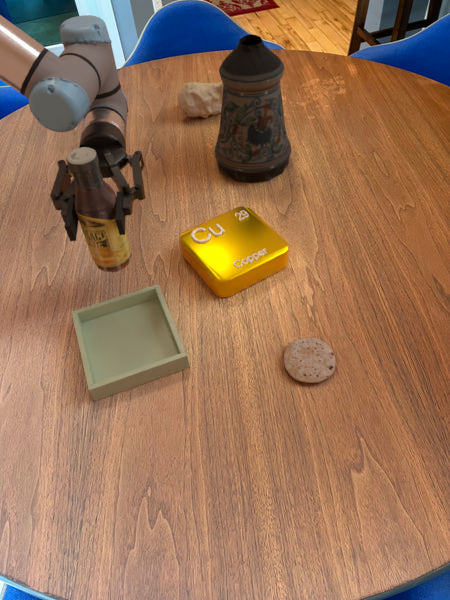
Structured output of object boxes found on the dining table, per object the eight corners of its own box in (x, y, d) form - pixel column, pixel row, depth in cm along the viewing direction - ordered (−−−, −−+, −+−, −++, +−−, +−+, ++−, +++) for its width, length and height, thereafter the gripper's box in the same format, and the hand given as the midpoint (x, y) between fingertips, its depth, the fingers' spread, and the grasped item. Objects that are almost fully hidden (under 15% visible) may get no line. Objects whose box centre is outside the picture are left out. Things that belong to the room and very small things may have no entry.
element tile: (220, 302, 80) (218, 283, 76) (178, 252, 88) (174, 232, 85) (293, 265, 84) (294, 244, 81) (245, 220, 93) (245, 200, 89)
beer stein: (234, 192, 99) (227, 70, 80) (199, 148, 111) (185, 32, 92) (304, 169, 103) (313, 47, 84) (263, 128, 115) (262, 13, 96)
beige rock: (169, 125, 122) (192, 106, 109) (166, 96, 122) (188, 72, 108) (222, 127, 129) (250, 108, 116) (219, 99, 129) (247, 77, 115)
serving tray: (76, 323, 79) (71, 311, 77) (161, 295, 82) (158, 283, 79) (94, 401, 69) (88, 390, 67) (190, 367, 72) (187, 355, 70)
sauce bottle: (87, 265, 78) (43, 159, 63) (113, 243, 81) (77, 136, 66) (116, 281, 75) (77, 173, 60) (142, 256, 78) (112, 148, 63)
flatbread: (334, 387, 68) (335, 384, 67) (281, 381, 69) (281, 377, 68) (335, 341, 73) (336, 337, 72) (286, 336, 74) (286, 332, 73)
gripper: (163, 154, 84) (168, 241, 69) (54, 167, 84) (35, 258, 69) (155, 114, 79) (159, 200, 64) (39, 128, 78) (14, 218, 63)
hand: (95, 230), depth 66 cm, fingers closed on sauce bottle, 6 cm apart
